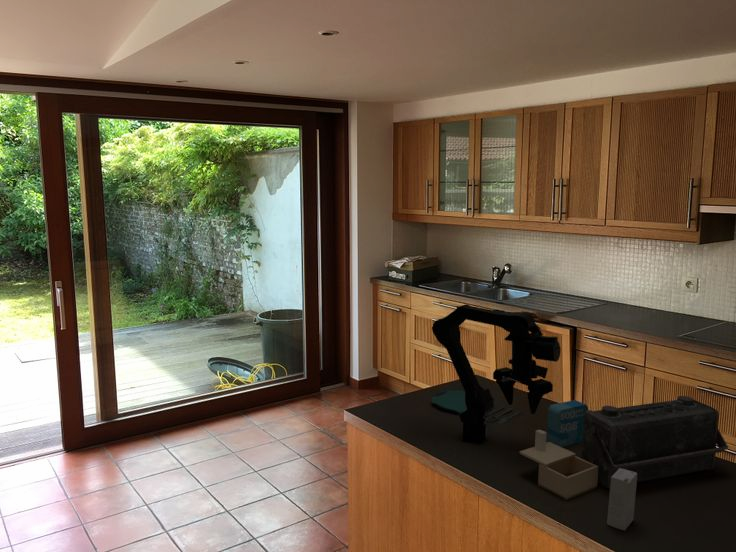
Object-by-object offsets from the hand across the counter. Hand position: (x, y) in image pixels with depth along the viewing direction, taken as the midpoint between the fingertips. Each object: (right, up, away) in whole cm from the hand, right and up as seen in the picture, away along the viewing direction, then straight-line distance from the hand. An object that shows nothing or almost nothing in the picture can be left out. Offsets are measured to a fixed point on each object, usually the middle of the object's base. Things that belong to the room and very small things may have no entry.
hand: (521, 409), depth 178 cm
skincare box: (+14, -19, -36) cm, 43 cm away
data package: (+16, -12, +9) cm, 22 cm away
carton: (+7, -16, -19) cm, 26 cm away
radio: (+32, -15, -12) cm, 37 cm away
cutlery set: (-8, -8, +36) cm, 38 cm away
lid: (+3, -9, -14) cm, 17 cm away
